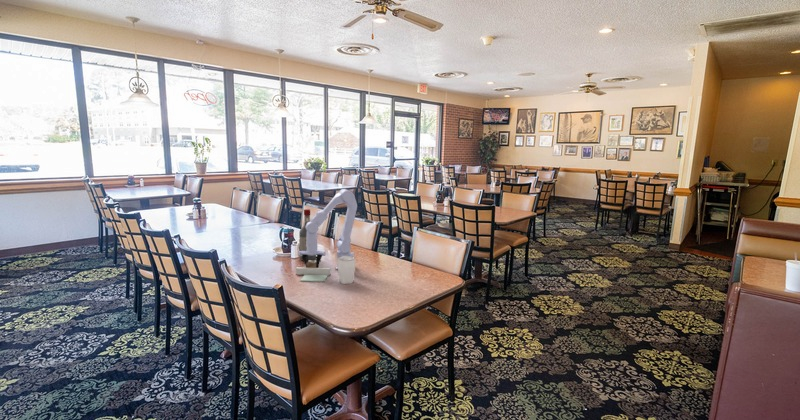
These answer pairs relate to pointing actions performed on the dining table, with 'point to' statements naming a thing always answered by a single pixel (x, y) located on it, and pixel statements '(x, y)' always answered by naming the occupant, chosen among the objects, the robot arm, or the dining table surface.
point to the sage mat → (314, 278)
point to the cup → (346, 269)
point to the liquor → (303, 236)
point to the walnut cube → (311, 264)
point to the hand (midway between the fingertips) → (312, 268)
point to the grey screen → (313, 271)
